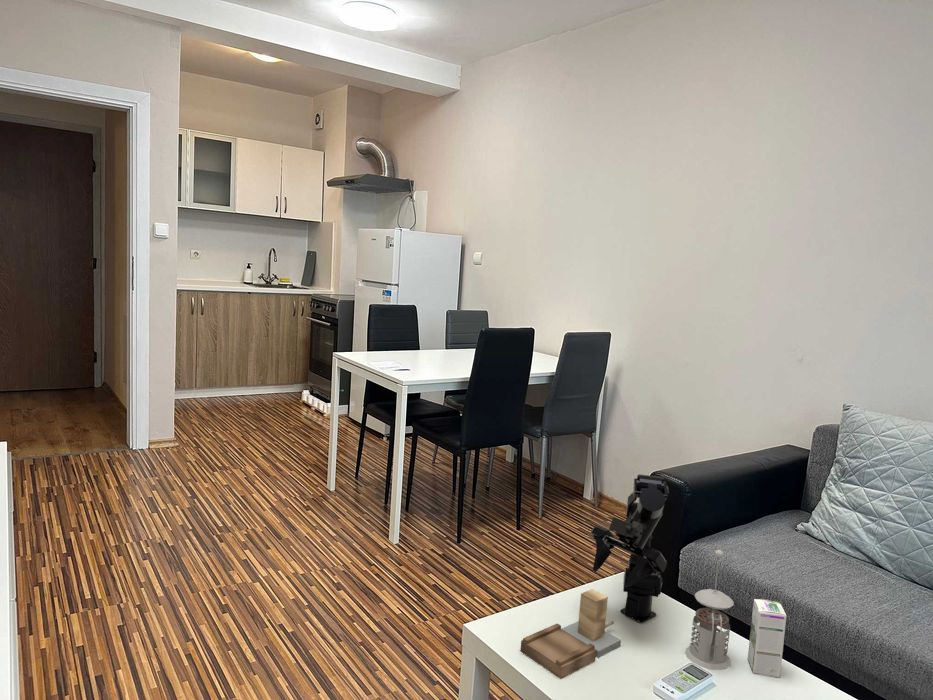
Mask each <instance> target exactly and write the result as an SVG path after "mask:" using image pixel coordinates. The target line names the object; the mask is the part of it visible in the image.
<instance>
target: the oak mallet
mask: <svg viewBox="0 0 933 700" xmlns="http://www.w3.org/2000/svg"><path fill="white" fill-rule="evenodd" d="M608 599H609V596H608V595H605V594H604V593H601V592H599V591H597V590H596V589H593V588H591V589H589V590H586V591H584V592H581V593H580V600H579V601H580V602H579V603H580V604H579V611H578V612H579V613H578V621H579V623H578V633H579V634H581V635H583V636H584V637H586V638H588V639H589V640H591V641H595V640H597V639H599V638H601V637H603V636H604V634H605V631H606V628H608V627H610V626H612V625H614V624H615V621H614V620H610V621H608V622H606V621H607V609H608Z"/></svg>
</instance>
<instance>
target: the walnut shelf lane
mask: <svg viewBox="0 0 933 700" xmlns="http://www.w3.org/2000/svg"><path fill="white" fill-rule="evenodd" d="M594 648H595V646H594V645H593V644H591V643H590V644H588V645H587V644H585V643H583V642H582V641H580V640H578V639H577V638H575V637H573V636H572V635H570V634H568V633H567V632H565V631H563V630H562V625H561V624H559V623H555V624H553V625H550V626H548V627H545V628H544V629H541V630H539V631H537V632H534V633H532V634H529V635H526V636H525V637H523V638H522V639H521V642H520V652H521V653H523V655H525V656H527V657H528V658H530V659H532V660H533V661H535V662H536V663H537V664H538V665H540V666H542V667H543V668H545V669H546V670H547V671H549V672H550V673H551V674H553V675H555V676H556V677H558V678H559V679H563V678H565V677H567V676H569V675H571V674H573V673H575V672H577V671H579V670H581V669H582V668H585V667H586V666H588V665H590V664H593V663H595V662H596V658H597V657H596V650H595V649H594Z"/></svg>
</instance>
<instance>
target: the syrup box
mask: <svg viewBox="0 0 933 700" xmlns="http://www.w3.org/2000/svg"><path fill="white" fill-rule="evenodd" d="M752 606H753V607H752V615H751V623H750V624H751V626H750V632H749V633H750V634H749V641H748V642H749V643H748V653H747V660H748V664H749V666H750V669H751V672H752V673H753V674H757V675H760V676H767V677H774V678H781V671H782V670H781V668H782V660H783V652H784V641H785V634H786V633H785V631H786V623H787V614H786V612H785V609H784V608H783V605H782V604H781V602H779V601H774V600H769V599H757V598H754V599H753V605H752Z"/></svg>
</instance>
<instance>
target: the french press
mask: <svg viewBox="0 0 933 700" xmlns="http://www.w3.org/2000/svg"><path fill="white" fill-rule="evenodd" d="M724 553H725V552H723V551H722V550H721V549H717V550H715V552H714V556H715V557H717V566H716V572H715V573H716V574H715V585H714V589H711V588H707V589H701V590H698V591H697V592H695V593H694V598H695V599H696V601H697V602H698V603H699V604H700V605H702V606H705V607H702V608H698V609H697V610H695V615H694V616H693V620H692V623H691V624H692V627H691V631H692V632H691V634H690V635H691V636H690V644H689V646H687V647H686V648H685V651H684V654H685V656H686V657H687V659H688V660H689V661H690V662H692V663H693V664H695V665H697V666H699V667H702V668H704V669H708V670H712V671H714V670H716V671H721V670H726V669H728V668H729V667H730V666H731V665H732V661H731V658H730V657H729V655H728V649H729V641H730V640H729V639H730V632H731V624H730V617H729V616H728V615H727V614H725V613H724V612H722V611H723V610H729V609H730V608H731V607H733V606H734V603H735V602H734V601H733V599H732V598H731V597H730V596H729V595H727V594H726V593H724V592H722V591H721V590H717V583H718V573H719V565H720V558H723V557H724ZM721 610H722V611H721ZM698 624H699V625H698ZM718 627H720V629H719V628H718ZM723 630H724V631H723Z"/></svg>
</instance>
